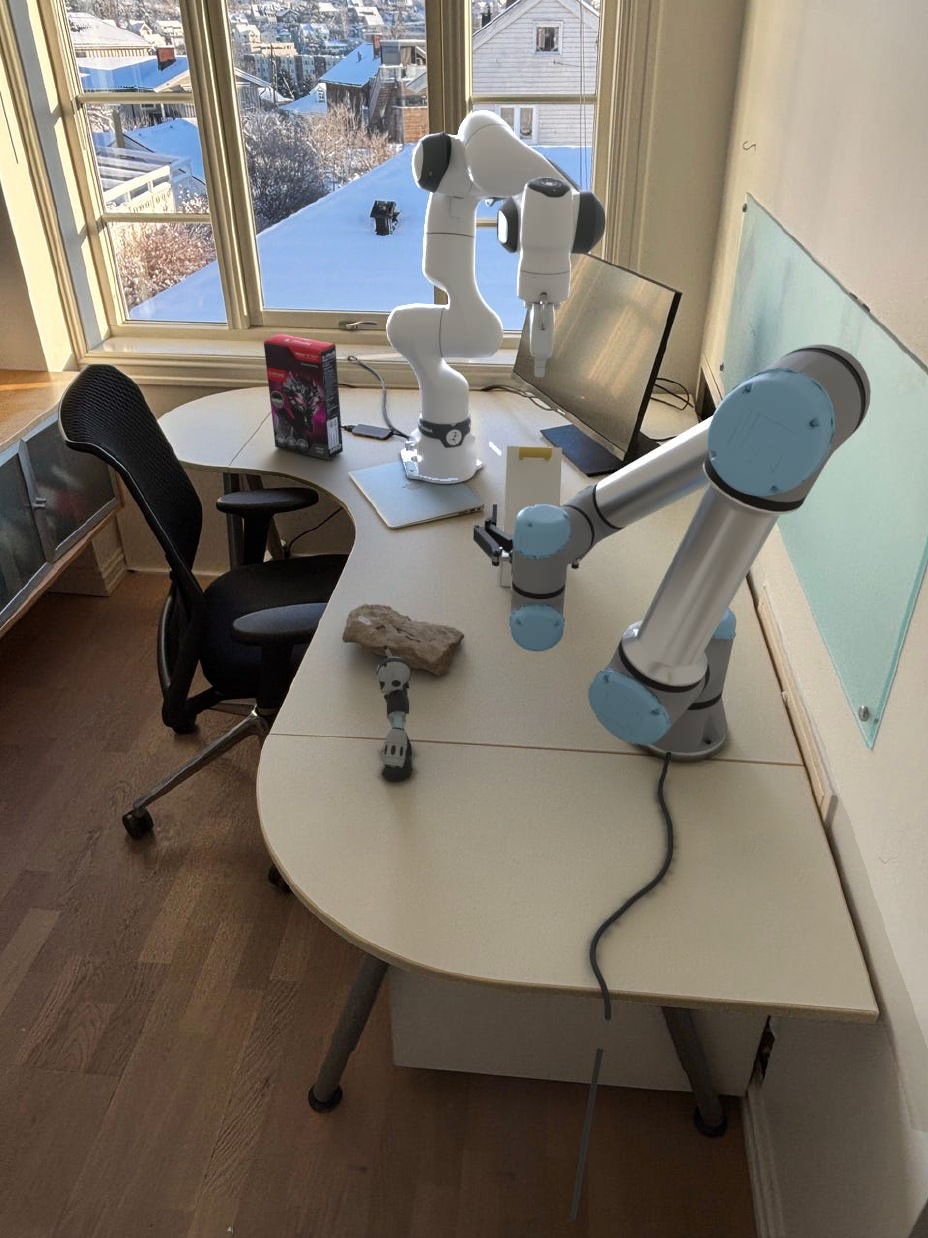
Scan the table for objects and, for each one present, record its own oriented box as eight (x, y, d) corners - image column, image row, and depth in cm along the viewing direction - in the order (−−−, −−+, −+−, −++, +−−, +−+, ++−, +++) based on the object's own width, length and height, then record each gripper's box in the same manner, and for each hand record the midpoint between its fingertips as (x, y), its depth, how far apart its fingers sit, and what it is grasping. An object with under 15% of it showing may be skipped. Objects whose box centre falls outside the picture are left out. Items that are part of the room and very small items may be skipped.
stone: (319, 650, 154) (325, 617, 152) (352, 620, 168) (359, 590, 165) (435, 691, 151) (444, 659, 148) (460, 657, 164) (468, 628, 162)
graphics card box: (273, 448, 231) (260, 339, 216) (289, 438, 236) (278, 332, 221) (329, 461, 225) (320, 351, 210) (345, 451, 230) (337, 342, 215)
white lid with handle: (507, 447, 172) (507, 438, 164) (561, 448, 172) (564, 439, 163) (503, 535, 172) (503, 530, 164) (558, 537, 172) (561, 532, 163)
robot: (414, 810, 128) (411, 698, 117) (379, 811, 128) (372, 699, 117) (414, 719, 145) (410, 613, 133) (382, 720, 144) (377, 613, 133)
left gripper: (564, 303, 146) (558, 387, 154) (560, 271, 163) (555, 349, 171) (524, 302, 146) (520, 386, 154) (524, 271, 163) (521, 348, 171)
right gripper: (621, 558, 137) (610, 494, 155) (454, 552, 138) (461, 490, 156) (616, 600, 141) (605, 534, 159) (453, 594, 142) (461, 529, 160)
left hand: (539, 366), depth 162 cm, fingers open, 8 cm apart
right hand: (534, 512), depth 157 cm, fingers open, 13 cm apart
